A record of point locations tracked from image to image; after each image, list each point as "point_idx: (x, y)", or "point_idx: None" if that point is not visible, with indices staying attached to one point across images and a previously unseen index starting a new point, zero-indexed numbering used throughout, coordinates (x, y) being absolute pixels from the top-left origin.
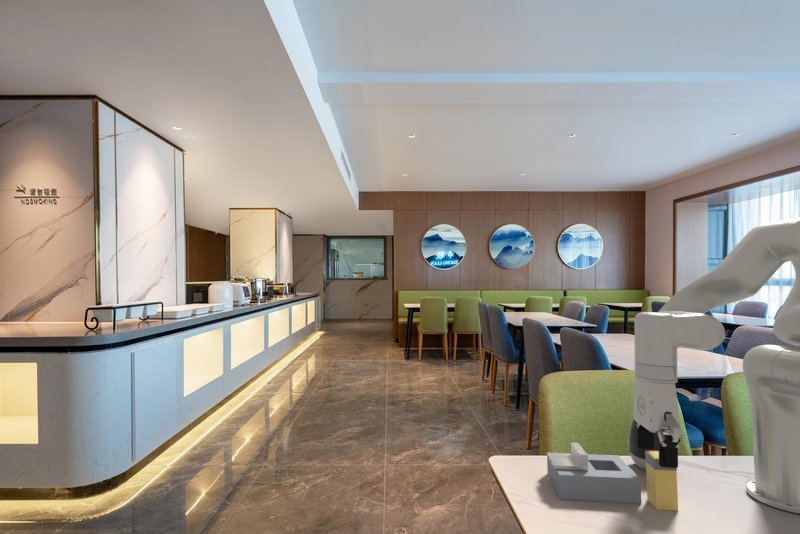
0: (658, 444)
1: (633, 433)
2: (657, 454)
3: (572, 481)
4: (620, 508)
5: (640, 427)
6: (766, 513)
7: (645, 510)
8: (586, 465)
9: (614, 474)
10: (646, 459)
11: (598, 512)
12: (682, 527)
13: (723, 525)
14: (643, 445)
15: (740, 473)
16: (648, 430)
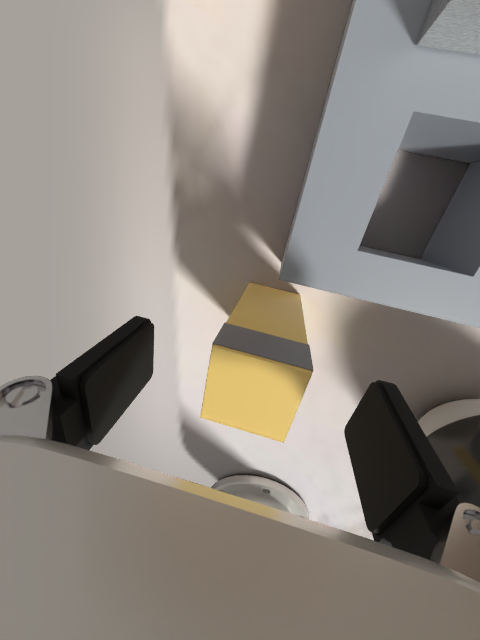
0: (459, 501)
1: None
2: (256, 390)
3: None
4: (266, 180)
5: (445, 518)
6: (220, 453)
7: (248, 250)
8: (438, 7)
9: (335, 192)
10: (298, 347)
11: (252, 77)
12: (175, 285)
13: (184, 365)
14: (366, 405)
15: (357, 534)
16: (389, 521)
